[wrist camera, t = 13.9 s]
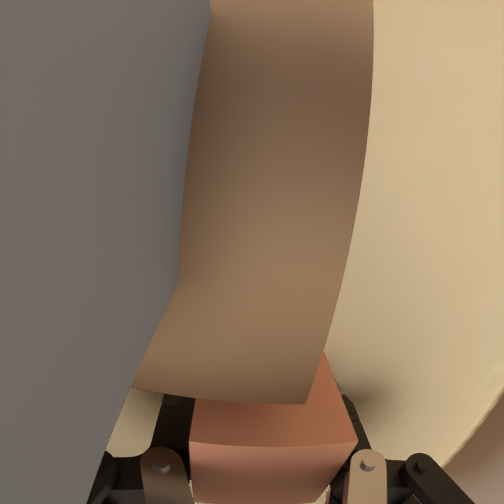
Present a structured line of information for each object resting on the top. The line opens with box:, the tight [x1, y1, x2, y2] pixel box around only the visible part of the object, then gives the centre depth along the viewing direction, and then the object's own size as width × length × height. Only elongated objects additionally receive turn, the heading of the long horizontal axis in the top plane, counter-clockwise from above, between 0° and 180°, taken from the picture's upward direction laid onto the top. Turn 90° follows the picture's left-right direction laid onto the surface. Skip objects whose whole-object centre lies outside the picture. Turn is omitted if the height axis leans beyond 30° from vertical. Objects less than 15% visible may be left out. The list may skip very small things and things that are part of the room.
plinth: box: [131, 0, 374, 404], centre depth 6 cm, size 11×11×4 cm
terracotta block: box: [189, 352, 358, 504], centre depth 9 cm, size 4×4×4 cm
